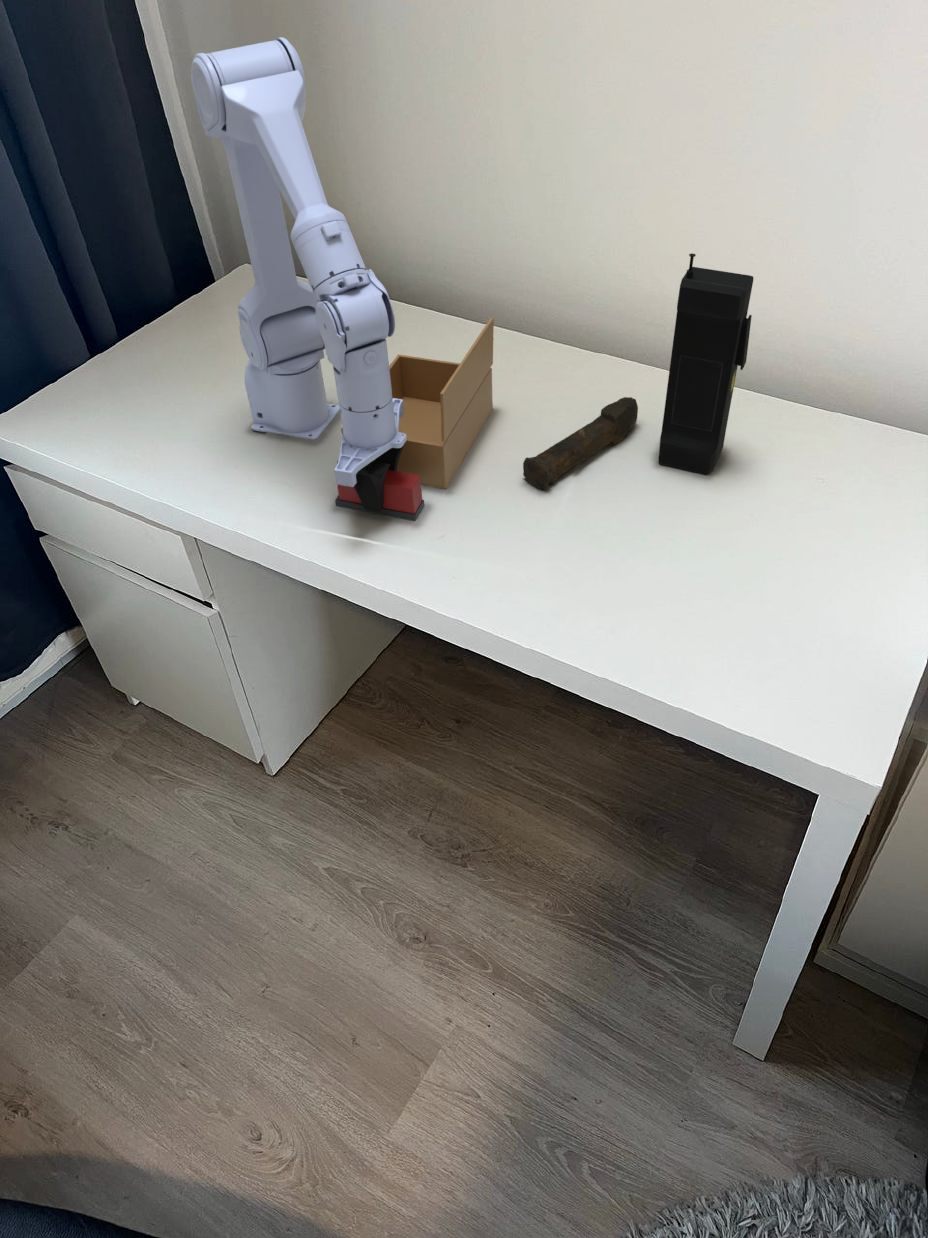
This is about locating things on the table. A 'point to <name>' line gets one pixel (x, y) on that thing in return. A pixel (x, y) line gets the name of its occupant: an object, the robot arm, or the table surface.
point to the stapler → (390, 496)
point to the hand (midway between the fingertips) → (378, 500)
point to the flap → (466, 379)
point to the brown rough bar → (582, 443)
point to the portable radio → (704, 366)
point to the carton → (434, 418)
